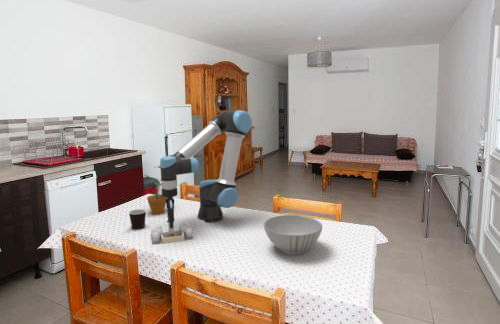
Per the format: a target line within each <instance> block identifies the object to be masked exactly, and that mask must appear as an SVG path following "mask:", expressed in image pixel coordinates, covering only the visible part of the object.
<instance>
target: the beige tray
mask: <svg viewBox="0 0 500 324" xmlns="http://www.w3.org/2000/svg"><path fill="white" fill-rule="evenodd" d="M178 224H179V226H178V227H179V230H174V233H176V234H177V235H178V236H174V237H168V234H169V231H167V232H165V231H164V230H163V226H162V225H156V226H154V227H152V228H151V229H150V232H151V233H150V238H151V244H152V246H154V245H160V244H161V245H162V244H168V243H177V242H183V241H190V240H195V238H194V236H193V228H192V227H191V223H185V222H180V223H178Z"/></svg>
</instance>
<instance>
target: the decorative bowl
mask: <svg viewBox="0 0 500 324" xmlns="http://www.w3.org/2000/svg"><path fill="white" fill-rule="evenodd" d="M263 229H264V231H265V233H266V236H267V237H268V240H269V241H270V242H271V243H272V244H273V245H274V246H275V247H277V249H279V251H280V252H282V253H284V254H287V255H300V254H303V253H305V252H306V250H308V249H310V248H311V247H312V246H313V245H314V244H315V243H316V242H317V241H318V239H319V237H320V236H321V233H322V231H323V223H321V222H320V220H317V219H316V218H314V217H309V216H306V215H300V214H299V215H298V214H297V215H296V214H285V215H284V214H282V215H277V216H273V217H269V218H268V219H266V220H264V222H263Z"/></svg>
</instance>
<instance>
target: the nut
mask: <svg viewBox="0 0 500 324" xmlns="http://www.w3.org/2000/svg"><path fill="white" fill-rule="evenodd" d="M174 236H178V235H177V234H176V233H170V234H168V237H174Z"/></svg>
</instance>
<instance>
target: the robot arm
mask: <svg viewBox="0 0 500 324" xmlns="http://www.w3.org/2000/svg"><path fill="white" fill-rule="evenodd" d="M252 126H253V119H252V117H251V115H250V114H249V112H248V111H245V110H240V109H238V110H235V109H234V110H233V109H231V110H230V109H229V110H228V109H227V110H224V111H222V112H220V113H219V114H217V115H215V116H214V117H213V118H212V119H211V120H210V121H208V125H206V126H205V127H204V128H203V129H202V130H201V131H199V132H197V134H195V136H194V137H193V138H191V139H190V140H189V141H188V142H187V143H186V144H184V145H183V146H182V147H181V148H180V149H179V150H177V151H176V152H175V153H174V154H169V155H168V156H162V157H161V158H160V161H159V166H160V168H159V169H160V180H161V182H160V181H159V182H160V184H161V185H160V186H161V195H162V196H163V197H167V199H166V205H165V208H166V211H167V217H166V218H167V220H166V222H167V227H168V232H169V234H170V233H174V231H175V199H174V197H177V196H178V177H177V176H181V175H187V174H193V173H197V172H198V170H199V167H200V164H199V161H198V160H197V158H195V157H194V156H195V155H196V154H197V153H199V151H201V149H203V148H205V146H206V145H207V144H208V143H210V142H211V141H212V140H213V139H214V138H215V137H217V136H221V134H223V133H224V134H225V135H226V140H225V144H224V145H225V146H224V150H223V153H222V154H223V155H222V160H221V166H220V169H219V175H218V178H217V179H206V180H205V179H204V180H201V181H200V182H199V187H198V189H199V209H198V212H197V219H198V220H200V221H204V223H216V222H220V221H222V220H223V219H224V212H223V209H222V208H224V209H229V208H232V207H233V206H234V205H236V204H237V202H238V198H239V193H238V190H237V189H236V188H237V183H236V182H235V178H236V173H237V172H236V171H237V167H238V164H239V163H238V162H239V157H240V153H241V148H242V142H243V139H244V138H245V137H247V133H248V132H249V131H250V130H251V129H252Z"/></svg>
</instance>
